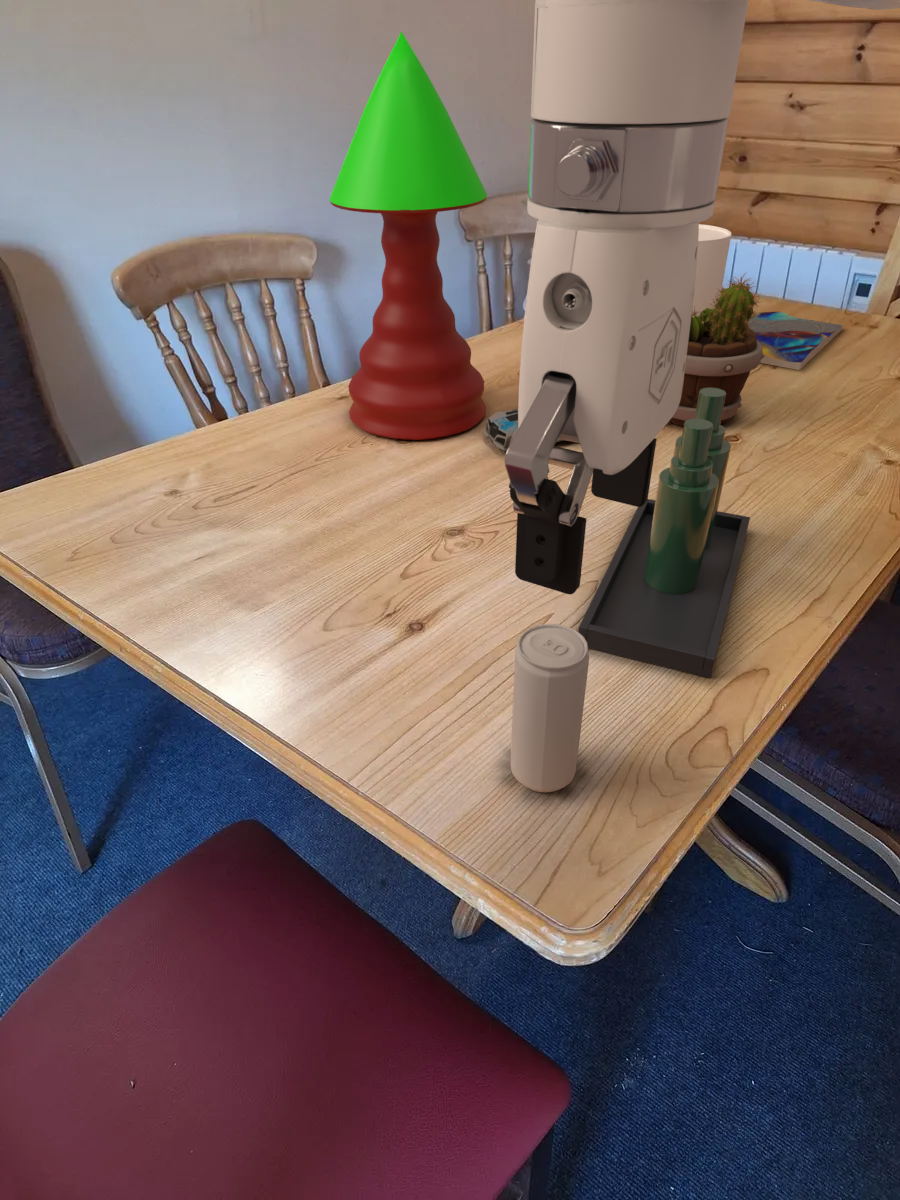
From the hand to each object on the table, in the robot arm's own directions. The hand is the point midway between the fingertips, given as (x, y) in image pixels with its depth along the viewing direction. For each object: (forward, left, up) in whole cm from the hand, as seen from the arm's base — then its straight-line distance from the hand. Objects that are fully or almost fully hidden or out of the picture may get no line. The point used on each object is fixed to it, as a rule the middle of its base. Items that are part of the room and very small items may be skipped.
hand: (585, 538), depth 41 cm
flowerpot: (+3, -75, -23) cm, 79 cm away
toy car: (+20, -60, -23) cm, 67 cm away
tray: (-2, -31, -22) cm, 38 cm away
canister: (+11, -96, -23) cm, 99 cm away
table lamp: (+40, -61, -23) cm, 77 cm away
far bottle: (-2, -39, -22) cm, 45 cm away
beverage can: (+2, -3, -23) cm, 23 cm away
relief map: (-5, -114, -23) cm, 117 cm away
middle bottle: (-2, -31, -22) cm, 38 cm away
